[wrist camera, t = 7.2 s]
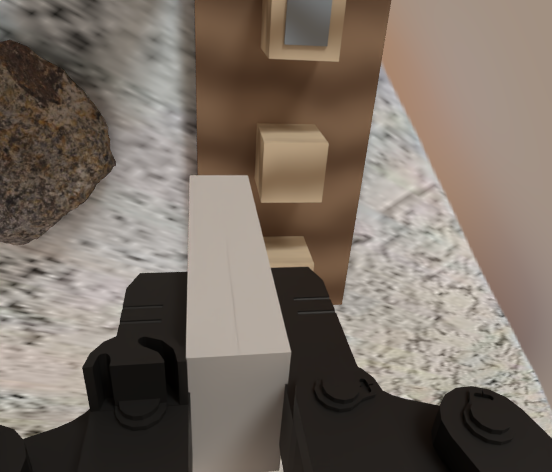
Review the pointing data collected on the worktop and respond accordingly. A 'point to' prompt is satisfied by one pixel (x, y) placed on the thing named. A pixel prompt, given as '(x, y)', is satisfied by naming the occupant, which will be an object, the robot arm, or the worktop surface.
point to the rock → (45, 144)
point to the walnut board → (290, 117)
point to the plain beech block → (290, 163)
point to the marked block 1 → (288, 252)
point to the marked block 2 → (302, 29)
